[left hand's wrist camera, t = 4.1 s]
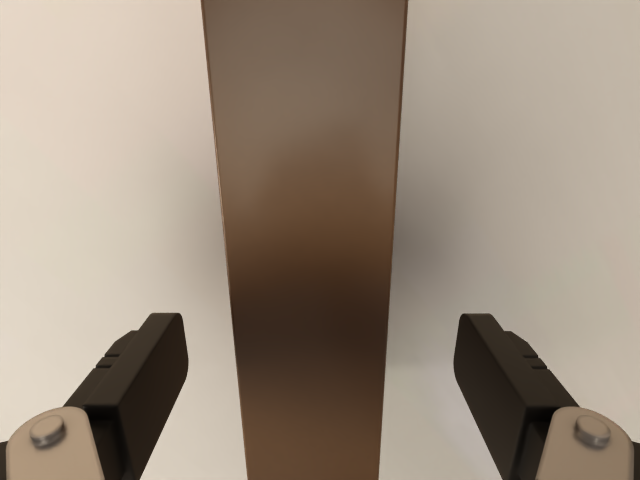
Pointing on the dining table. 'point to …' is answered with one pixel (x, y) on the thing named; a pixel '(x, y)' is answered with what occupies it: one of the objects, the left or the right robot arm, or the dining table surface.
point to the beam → (308, 221)
